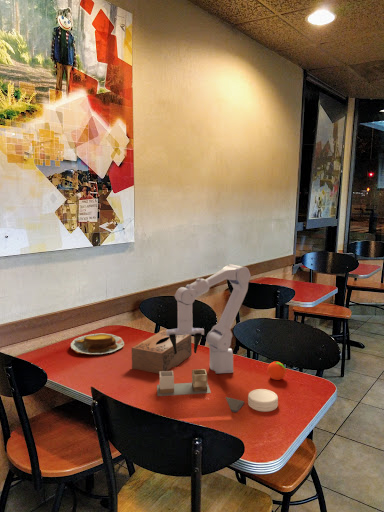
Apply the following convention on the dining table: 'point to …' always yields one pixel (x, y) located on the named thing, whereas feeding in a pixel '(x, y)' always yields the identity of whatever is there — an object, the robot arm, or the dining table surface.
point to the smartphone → (234, 404)
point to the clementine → (276, 370)
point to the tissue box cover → (160, 352)
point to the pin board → (182, 390)
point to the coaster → (263, 400)
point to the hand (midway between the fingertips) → (185, 352)
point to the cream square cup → (166, 381)
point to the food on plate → (97, 343)
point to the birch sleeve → (199, 380)
